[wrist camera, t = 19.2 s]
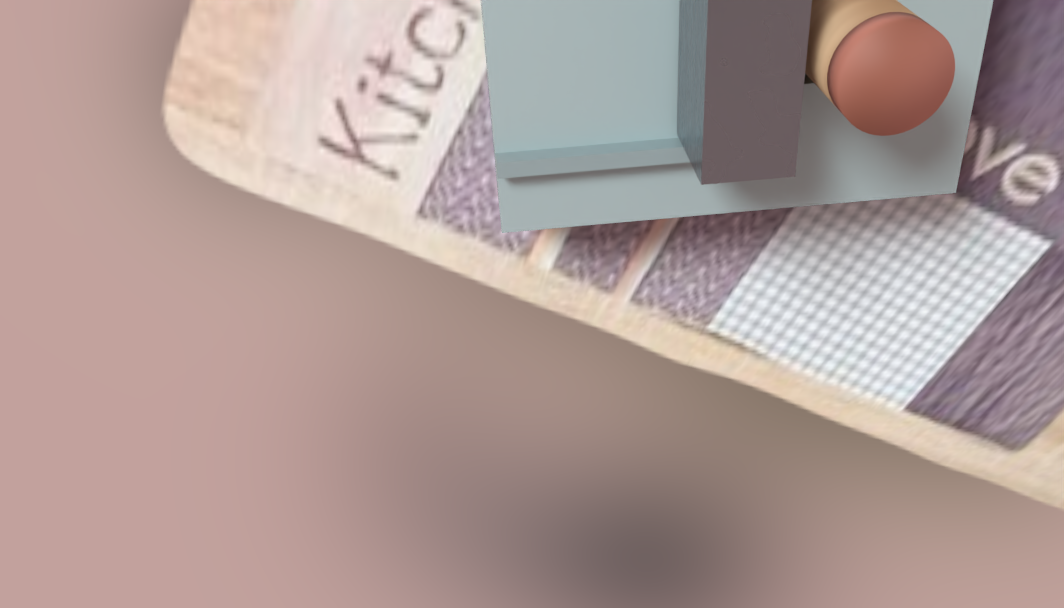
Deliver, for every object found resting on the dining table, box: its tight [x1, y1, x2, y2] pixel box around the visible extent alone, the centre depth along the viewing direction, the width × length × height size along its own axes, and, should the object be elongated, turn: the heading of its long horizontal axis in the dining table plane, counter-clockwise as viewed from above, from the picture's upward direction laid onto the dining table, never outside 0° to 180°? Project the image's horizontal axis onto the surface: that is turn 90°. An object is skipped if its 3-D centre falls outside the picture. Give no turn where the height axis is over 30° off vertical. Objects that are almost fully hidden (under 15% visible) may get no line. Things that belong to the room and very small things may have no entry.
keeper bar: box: [677, 0, 812, 185], centre depth 31 cm, size 3×7×4 cm, turn 4°
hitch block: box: [481, 0, 993, 233], centre depth 35 cm, size 17×14×6 cm
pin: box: [805, 0, 955, 136], centre depth 33 cm, size 3×3×10 cm
